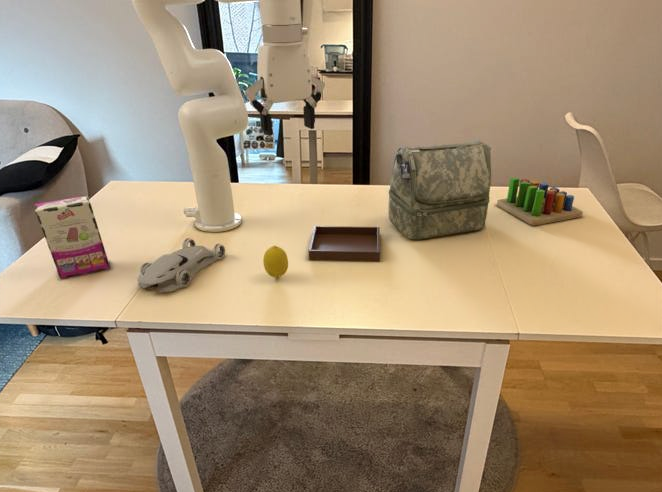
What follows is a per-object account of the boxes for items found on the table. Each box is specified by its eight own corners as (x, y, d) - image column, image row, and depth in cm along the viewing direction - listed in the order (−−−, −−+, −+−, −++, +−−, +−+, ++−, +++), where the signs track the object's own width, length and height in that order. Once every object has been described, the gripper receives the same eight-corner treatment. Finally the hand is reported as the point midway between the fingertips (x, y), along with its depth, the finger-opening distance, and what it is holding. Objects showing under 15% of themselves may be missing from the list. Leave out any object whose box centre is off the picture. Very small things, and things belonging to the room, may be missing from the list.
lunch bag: (404, 245, 139) (409, 158, 126) (379, 219, 153) (381, 138, 140) (493, 232, 146) (507, 148, 133) (462, 208, 160) (471, 130, 147)
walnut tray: (309, 260, 133) (308, 250, 131) (314, 234, 145) (314, 225, 143) (379, 261, 132) (379, 252, 131) (379, 235, 144) (379, 226, 143)
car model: (229, 254, 135) (226, 235, 132) (168, 301, 117) (163, 280, 114) (191, 247, 138) (188, 228, 135) (126, 291, 120) (120, 270, 117)
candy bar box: (108, 261, 132) (88, 194, 122) (111, 269, 128) (91, 201, 119) (57, 270, 128) (33, 202, 118) (59, 279, 124) (34, 210, 114)
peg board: (582, 217, 155) (590, 187, 150) (532, 226, 149) (539, 196, 144) (543, 197, 168) (549, 169, 162) (495, 205, 162) (500, 176, 157)
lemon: (293, 274, 127) (290, 242, 122) (283, 285, 122) (280, 252, 118) (271, 270, 128) (268, 239, 123) (260, 281, 124) (257, 249, 119)
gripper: (312, 30, 109) (316, 121, 119) (231, 36, 101) (243, 133, 111) (331, 34, 104) (333, 128, 114) (248, 40, 96) (258, 141, 106)
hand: (289, 130), depth 113 cm, fingers open, 9 cm apart
